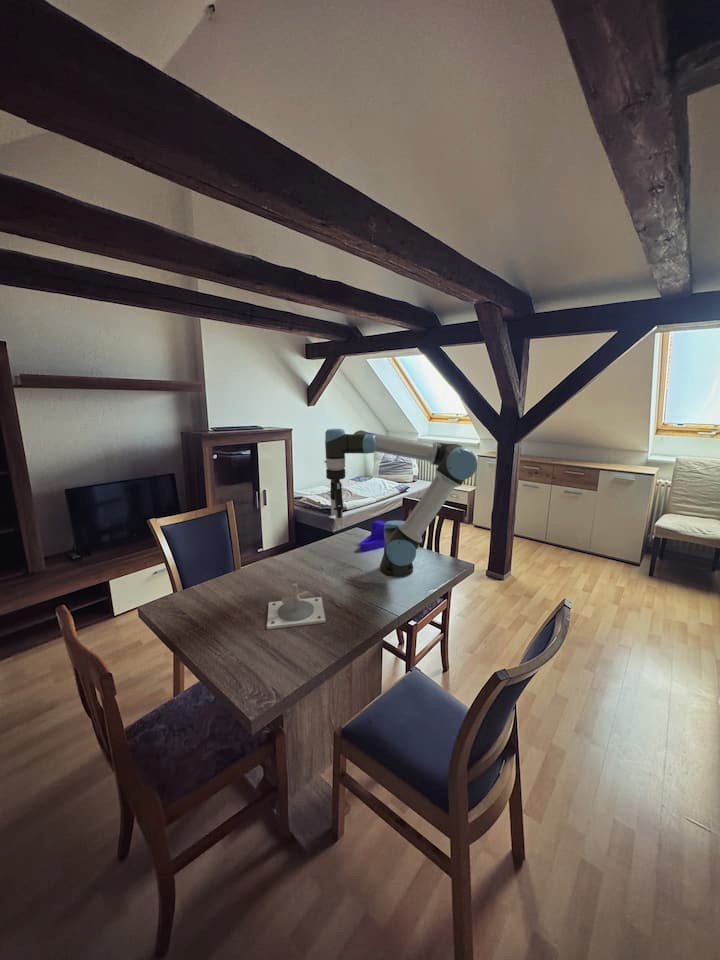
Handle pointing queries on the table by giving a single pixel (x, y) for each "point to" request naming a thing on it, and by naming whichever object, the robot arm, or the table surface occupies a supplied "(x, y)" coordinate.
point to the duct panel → (295, 613)
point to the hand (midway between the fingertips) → (336, 519)
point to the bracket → (374, 537)
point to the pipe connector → (295, 597)
